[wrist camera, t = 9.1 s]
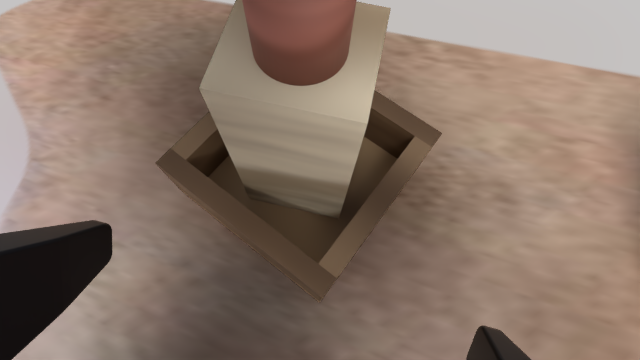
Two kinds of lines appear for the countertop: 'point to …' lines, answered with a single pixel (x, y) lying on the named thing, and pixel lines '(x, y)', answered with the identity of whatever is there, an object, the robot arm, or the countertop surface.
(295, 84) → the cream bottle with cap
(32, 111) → the countertop surface
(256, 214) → the cradle jig
